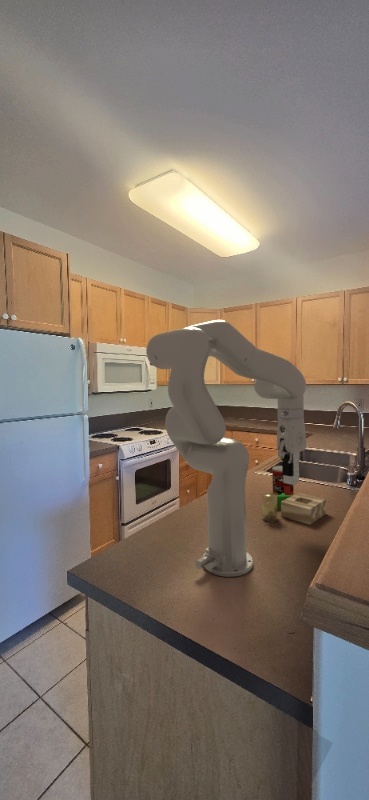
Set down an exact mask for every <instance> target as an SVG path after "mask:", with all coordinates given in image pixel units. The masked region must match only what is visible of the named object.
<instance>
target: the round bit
mask: <svg viewBox="0 0 369 800" xmlns="http://www.w3.org/2000/svg"><path fill="white" fill-rule="evenodd" d="M261 519H262V520H263V521H264V522H272V523H273V522H276V521H278V509H277V494H275V493H273V491H271V492H269V491H268V492H267V491H266V492H262V493H261Z"/></svg>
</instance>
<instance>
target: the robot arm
mask: <svg viewBox="0 0 369 800" xmlns="http://www.w3.org/2000/svg"><path fill="white" fill-rule="evenodd" d="M145 350H146V356H147V359H148V361H149V362H150V364H151V365H152V366H153V367H155V368H157V369H160V370H170V372H169V377H168V384H167V393H168V397H169V400H170V402H171V404H172V407H170V409H168V411H167V413H166V416H165V423H164V425H165V430H166V434H167V435H168V437H169V439H170V441H171V442H172V444H173V445H174V446H175V449H176V450H177V451H178V453H179V454H180V455H181V457H182V459H183V460H184V461H185V462H186V464H188V466H189V467H191V468H192V469H194V470H196V471H200V472H204V473H207V474H210V475H212V479H211V482H210V483H209V485H208V488H207V491H206V507H207V508H206V510H207V511H206V512H207V513H206V514H207V515H206V516H207V517H206V518H207V545H208V546H207V548H205V553H203V554H202V557H201V558H199V559H196V560H195V567H196V569H198V570H200V569H203V568H204V569H205V570H206V571H208V572H209V573H212V574H213V575H216V576H219V577H226V578H231V577H240V576H244V575H246V574H247V573H249V572H250V571H251V570H252V568H253V567H254V560H253V557H252V555H251V554H250V553H249V552H247V518H246V517H247V512H246V510H247V509H246V508H247V506H246V505H247V504H246V503H247V502H246V485H247V484H246V482H247V476H248V475H247V473H248V469H249V464H250V455H249V454H250V453H249V451H248V449H247V447H246V445H245V444H243V443H242V442H241V441H239V440H237V439H233V438H229V437H225V435H226V431H227V427H226V426H227V425H226V423H225V420H224V418H223V416H222V414H221V412H220V410H219V409H218V406H217V405H216V403H215V401H214V399H213V398H212V396H211V394H210V391H209V390H208V388H207V385H206V382H205V370H206V366H207V361H208V359H209V357H211V358H212V357H213V358H214V359H216V360H218V361H219V362H220V363H221V364H222V365H224V366H225V367H227V368H228V369H229V370H231V372H233V373H234V374H235V375H236V376H237V375H238V376H240V377H242V378H246V379H249V380H250V379H251V380H255V381H254V384H253V385H254V386H253V387H254V391H255V393H256V394H257V396H259V397H261V398H262V399H268V400H269V399H270V400H271V399H272V400H277V428H276V429H277V430H276V449H277V456H278V457H279V459H281V463H282V465H281V466H282V474H283V475H286V476H291V477H292V476H293V463H291V462H292V454H294V453H297V452H299V474H300V473H301V472H300V471H301V469H300V468H301V467H300V463H301V461H300V460H301V455H302V451H304V450H306V448H307V437H306V436H307V435H306V434H307V433H306V425H305V419H304V416H305V415H304V413H305V411H304V410H305V409H304V406H305V405H304V404H305V401H304V400H305V399H304V396H305V395H304V394H305V392H306V390H307V382H306V379H305V377H304V375H303V373H302V372H301V371H300V370H299V368H298V367H296V365H294V363H292V362H290V361H289V360H288V359H285V358H283V357H281V356H278V355H276V354H273V353H270V352H268V351H266V350H263V349H259V348H258V347H256V346H255V345H254V344H253V342H251V341H250V340H248V338H247V337H246V336H244V335H243V334H242V333H241V332H240V331H239V330H238V329H237V328H235V327H234V326H233V325H232V324H231V323H230V322H228V321H226V320H223V319H215V320H214V319H213V320H210V321H206V322H202V323H198V324H194V325H190V326H187V327H183V328H179V329H174V330H170V331H166V332H162V333H157V334H156V335H153V336H151V338H150V339H149V341H148V343H147V345H146V349H145ZM285 450H287V452H285ZM285 454H288V456H287V455H285Z"/></svg>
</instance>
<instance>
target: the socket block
mask: <svg viewBox="0 0 369 800" xmlns="http://www.w3.org/2000/svg"><path fill="white" fill-rule="evenodd" d="M326 515H327V499H326V498H322V497H318V496H314V495H309V494H307V493H306V494H305V493H301V492H297V493H295V494H293V496H291V497H289V498H287V499H285V500H283V501H281V509H280V516H281V517H282V518H286V519H289V520H292V521H295V522H299V523H302V524H305V525H309V526H310V525H312V524H313V523H315V522H317V521H318V520H319V519H321V518H322V517H323V516H326Z"/></svg>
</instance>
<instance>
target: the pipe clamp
mask: <svg viewBox="0 0 369 800" xmlns="http://www.w3.org/2000/svg"><path fill="white" fill-rule="evenodd" d="M293 495H294V494H293ZM293 495H285V494H284V493H282V494H281V495H277V510H278V509H280V510H281V501H283V500H285V499H287V498H289V497H291V496H293Z"/></svg>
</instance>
